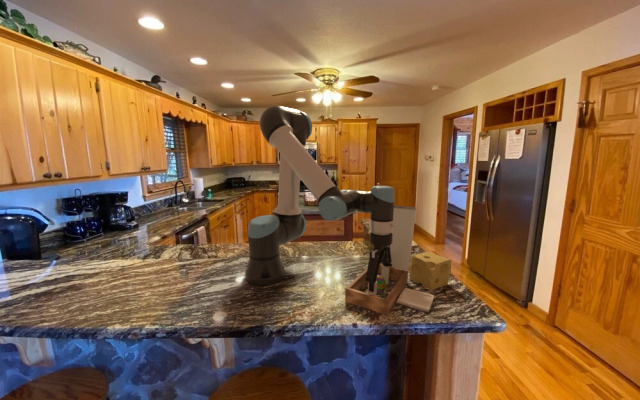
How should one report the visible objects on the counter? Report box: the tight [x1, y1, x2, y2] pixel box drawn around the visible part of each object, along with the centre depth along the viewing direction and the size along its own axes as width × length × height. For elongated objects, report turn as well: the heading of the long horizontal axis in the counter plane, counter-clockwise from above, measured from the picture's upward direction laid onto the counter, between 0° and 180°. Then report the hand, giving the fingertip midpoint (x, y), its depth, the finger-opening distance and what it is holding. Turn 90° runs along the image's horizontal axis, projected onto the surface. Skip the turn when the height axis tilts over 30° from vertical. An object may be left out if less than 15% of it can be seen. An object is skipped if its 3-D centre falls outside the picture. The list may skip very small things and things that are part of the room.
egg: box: [376, 275, 387, 295], centre depth 91 cm, size 5×5×6 cm
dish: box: [396, 287, 435, 313], centre depth 85 cm, size 10×10×1 cm
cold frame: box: [344, 265, 409, 316], centre depth 92 cm, size 14×29×14 cm, turn 148°
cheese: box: [409, 251, 452, 292], centre depth 98 cm, size 10×11×10 cm
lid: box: [380, 204, 417, 272], centre depth 102 cm, size 14×24×1 cm
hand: (378, 290), depth 91 cm, fingers open, 12 cm apart
